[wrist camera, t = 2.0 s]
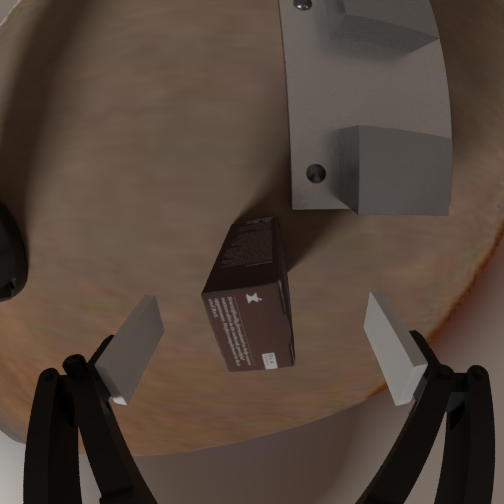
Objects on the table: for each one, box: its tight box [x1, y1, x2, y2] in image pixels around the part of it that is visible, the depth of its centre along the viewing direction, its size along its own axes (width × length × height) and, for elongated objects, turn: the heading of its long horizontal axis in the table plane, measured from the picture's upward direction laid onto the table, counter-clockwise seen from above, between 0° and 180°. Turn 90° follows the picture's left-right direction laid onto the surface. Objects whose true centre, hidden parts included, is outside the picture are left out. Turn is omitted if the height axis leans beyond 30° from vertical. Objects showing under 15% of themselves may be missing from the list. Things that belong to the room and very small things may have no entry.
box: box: [201, 217, 295, 372], centre depth 20 cm, size 6×4×12 cm
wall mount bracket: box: [278, 0, 452, 216], centre depth 16 cm, size 16×22×6 cm
